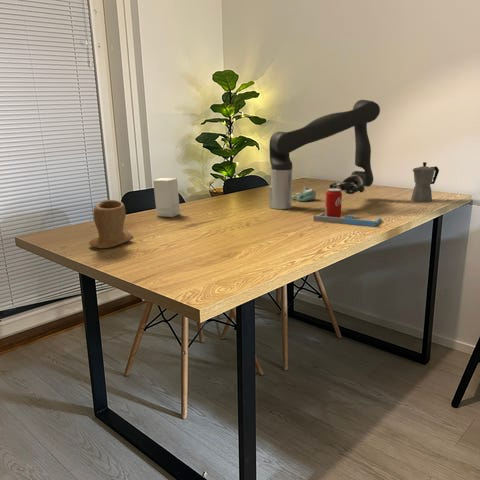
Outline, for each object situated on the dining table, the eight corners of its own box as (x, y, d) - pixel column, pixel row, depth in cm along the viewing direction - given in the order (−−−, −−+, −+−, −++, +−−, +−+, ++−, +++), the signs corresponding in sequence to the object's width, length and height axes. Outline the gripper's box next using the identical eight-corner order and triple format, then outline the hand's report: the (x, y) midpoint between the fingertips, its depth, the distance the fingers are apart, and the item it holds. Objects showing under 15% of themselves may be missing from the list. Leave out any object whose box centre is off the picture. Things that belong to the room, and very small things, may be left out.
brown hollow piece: (108, 253, 148) (103, 206, 144) (84, 247, 155) (79, 202, 151) (143, 241, 160) (140, 198, 156) (119, 237, 167) (116, 195, 163)
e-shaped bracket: (313, 220, 186) (313, 215, 185) (322, 215, 195) (322, 210, 195) (374, 226, 175) (375, 221, 175) (381, 220, 185) (381, 215, 184)
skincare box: (180, 214, 201) (178, 178, 196) (171, 217, 195) (169, 180, 191) (163, 213, 204) (161, 177, 200) (155, 216, 198) (152, 179, 194)
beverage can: (340, 221, 185) (342, 190, 182) (324, 220, 186) (325, 190, 183) (340, 217, 191) (342, 188, 187) (325, 217, 192) (326, 187, 189)
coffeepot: (417, 203, 215) (421, 164, 210) (403, 200, 224) (406, 162, 219) (443, 200, 221) (447, 162, 216) (428, 197, 229) (431, 160, 225)
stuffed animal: (290, 187, 233) (314, 182, 230) (293, 201, 234) (317, 197, 232) (288, 190, 222) (314, 186, 220) (291, 205, 224) (316, 201, 221)
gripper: (337, 175, 212) (326, 180, 198) (369, 176, 205) (360, 182, 191) (336, 191, 214) (325, 198, 200) (368, 193, 207) (359, 200, 193)
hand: (342, 190), depth 196 cm, fingers open, 8 cm apart
